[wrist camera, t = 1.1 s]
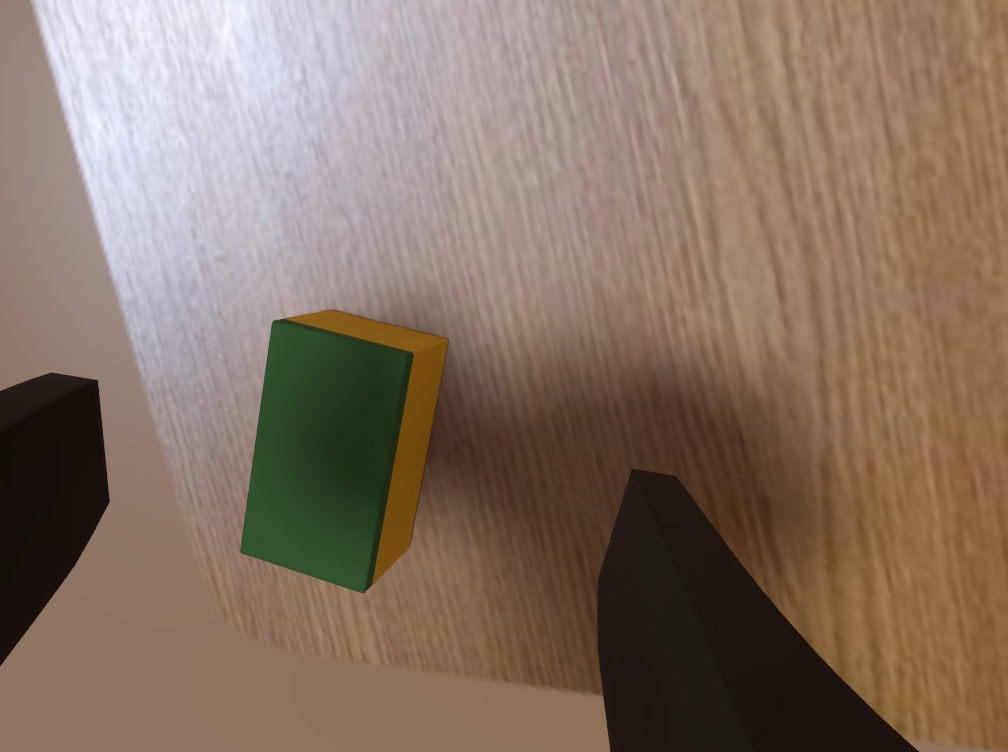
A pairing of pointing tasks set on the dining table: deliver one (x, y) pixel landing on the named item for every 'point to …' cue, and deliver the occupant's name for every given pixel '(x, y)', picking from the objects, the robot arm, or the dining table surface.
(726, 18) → the dining table surface
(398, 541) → the sponge
